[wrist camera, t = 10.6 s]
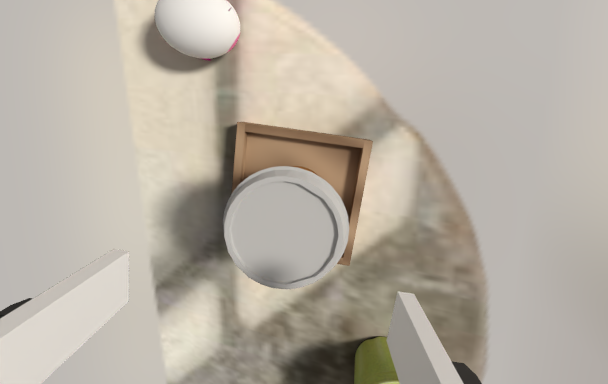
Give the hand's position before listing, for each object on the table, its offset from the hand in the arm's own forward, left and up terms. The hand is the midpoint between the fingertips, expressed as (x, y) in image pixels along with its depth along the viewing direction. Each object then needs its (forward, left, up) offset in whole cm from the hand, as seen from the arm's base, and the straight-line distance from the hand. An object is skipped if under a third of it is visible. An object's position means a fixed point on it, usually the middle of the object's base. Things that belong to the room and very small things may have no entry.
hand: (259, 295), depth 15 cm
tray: (0, 0, -20) cm, 20 cm away
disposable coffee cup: (0, 0, -19) cm, 19 cm away
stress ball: (+16, +11, -20) cm, 28 cm away
